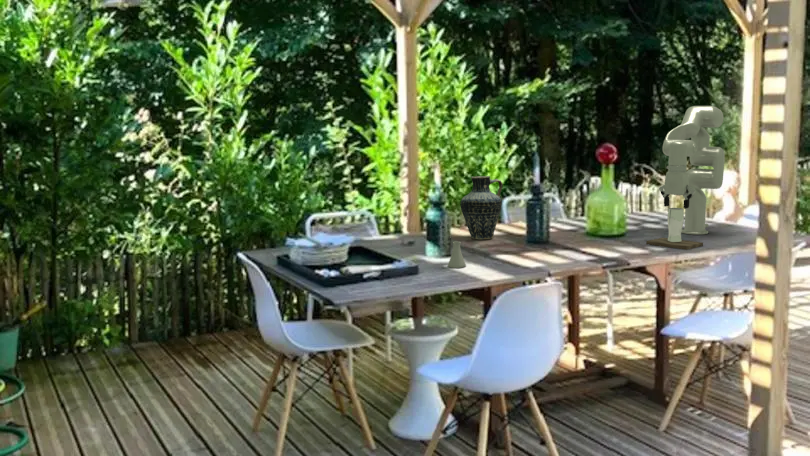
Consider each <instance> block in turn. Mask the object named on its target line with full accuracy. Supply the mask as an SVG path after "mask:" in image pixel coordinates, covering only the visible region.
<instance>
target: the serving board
mask: <svg viewBox="0 0 810 456" xmlns="http://www.w3.org/2000/svg"><path fill="white" fill-rule="evenodd" d="M681 240H682V242H680V243H673V242H668V237H659V238H654V239H650V240H646V241H645V242H646V243H645V244H646V245H648V244H650V245H649V246H656V247H664V248H669V249H670V248H671V249H672V248H673V249H677V250H684V251H685V250H686V251H687V250H692V249H695V248H700V247H704V242H700V241H693V240H687V239H686V240H684V239H681Z"/></svg>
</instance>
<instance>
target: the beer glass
mask: <svg viewBox="0 0 810 456" xmlns="http://www.w3.org/2000/svg"><path fill="white" fill-rule="evenodd" d="M667 209H668V211H667V228H668V229H667V230H668V237H667V238H668V242H673V243H680V242H682V240H683V239H682V232H681V231H682V229H683V225H684V222H685V209H684V207H683V208H681V207H668V208H667Z"/></svg>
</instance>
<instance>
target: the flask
mask: <svg viewBox="0 0 810 456" xmlns="http://www.w3.org/2000/svg"><path fill="white" fill-rule="evenodd" d="M461 244H462V242H461V241H453V242H452V246H453V247H452V252H451V255H450V258H449V261H448V264H447V268H453V269H461V268H466V267H467V264H466V262H465V258H464V256H463V254H462V249H461Z"/></svg>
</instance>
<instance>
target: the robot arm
mask: <svg viewBox="0 0 810 456" xmlns="http://www.w3.org/2000/svg"><path fill="white" fill-rule="evenodd" d="M722 124H724V114H723V111H722V110H721V109H720V108H718V107H717V106H713V105H693V106H690V107H688V108H687V109H686V111H685V113H684V116H683V119H682V122H681V124H680V125H677V126H676V127H674V128H673V129H671V130H670V131H668V132H667V134H666V136H665V138H664V140H663V144H662V153H663V154H664V155H665V156H667V157H668V165H667V166H666V170H667V171H666V173H665V180H664V184H663V185H661V186H659V187H658V189H659V192H660V194H661V196H662V198H663V207H669V206H670V195H672V196H683V198H684V199H683V209H684V228H682V231H681V234H687V235H697V236H698V235H707V234H708V233H709V230H707V229H706V228H709V224H708V223H706V217H707V214H706V213H707V212H706V211H707V196H706V194H705V192H704V191H703V190H705V189H706V190H718V189H721V187H722V185H723V180H724V171H725V161H726V160H725V157H726V156H725V155H726V154H725V151H724V149H723V148H722V147H720V146H710V135H709V133H708V131H707V130H706V129H705V128H715V129H716V128H720V127H721V126H722ZM688 157H689V162H690V163H689V164H690V165H692V166H694V167H712V168H711V169H710V168H691V169H688V170H687V165H688V162H687V161H688Z"/></svg>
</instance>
